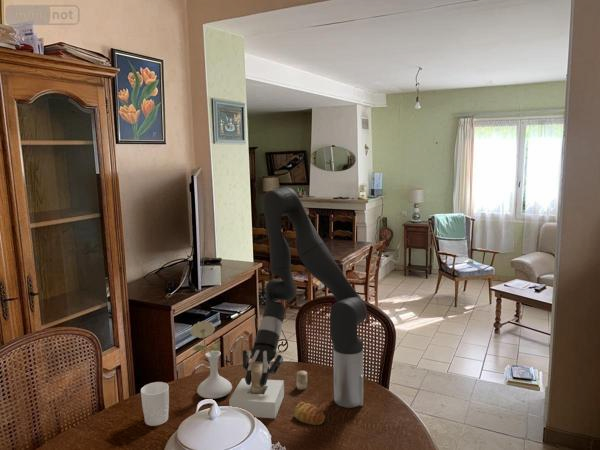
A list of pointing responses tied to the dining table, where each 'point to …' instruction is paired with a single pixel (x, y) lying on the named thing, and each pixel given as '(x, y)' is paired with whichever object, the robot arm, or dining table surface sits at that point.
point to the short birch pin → (301, 380)
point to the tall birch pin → (256, 377)
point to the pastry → (308, 414)
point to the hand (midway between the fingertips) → (254, 384)
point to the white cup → (155, 403)
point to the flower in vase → (214, 383)
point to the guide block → (259, 398)
